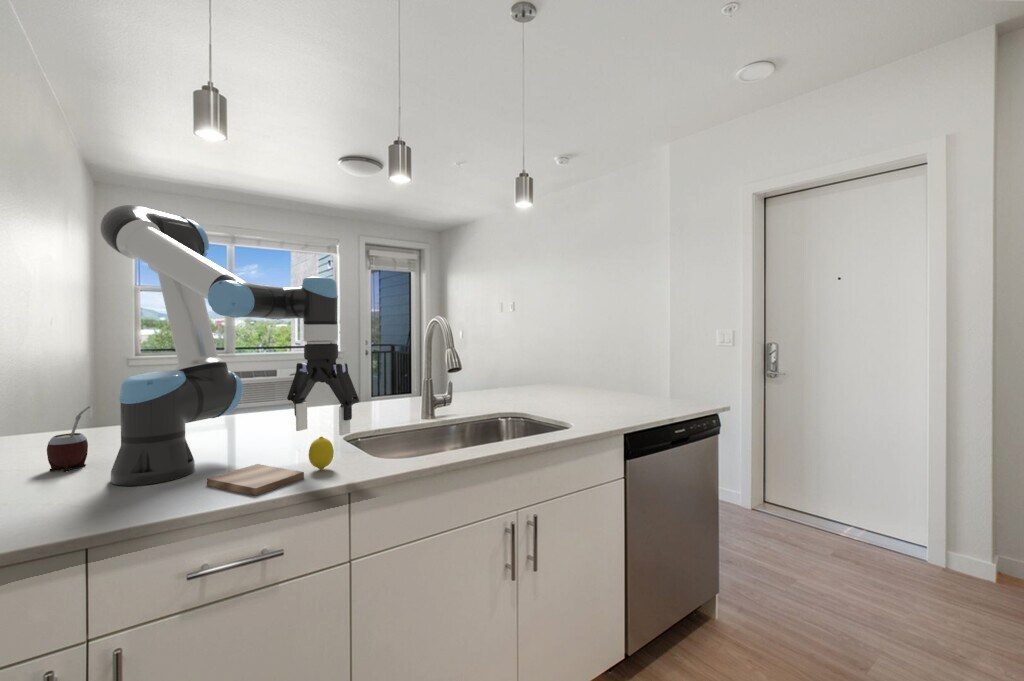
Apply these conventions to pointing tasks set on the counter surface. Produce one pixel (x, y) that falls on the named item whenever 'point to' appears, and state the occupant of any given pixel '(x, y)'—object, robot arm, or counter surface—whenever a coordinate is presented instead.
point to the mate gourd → (68, 449)
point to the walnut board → (255, 479)
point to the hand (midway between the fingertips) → (322, 432)
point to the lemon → (321, 453)
